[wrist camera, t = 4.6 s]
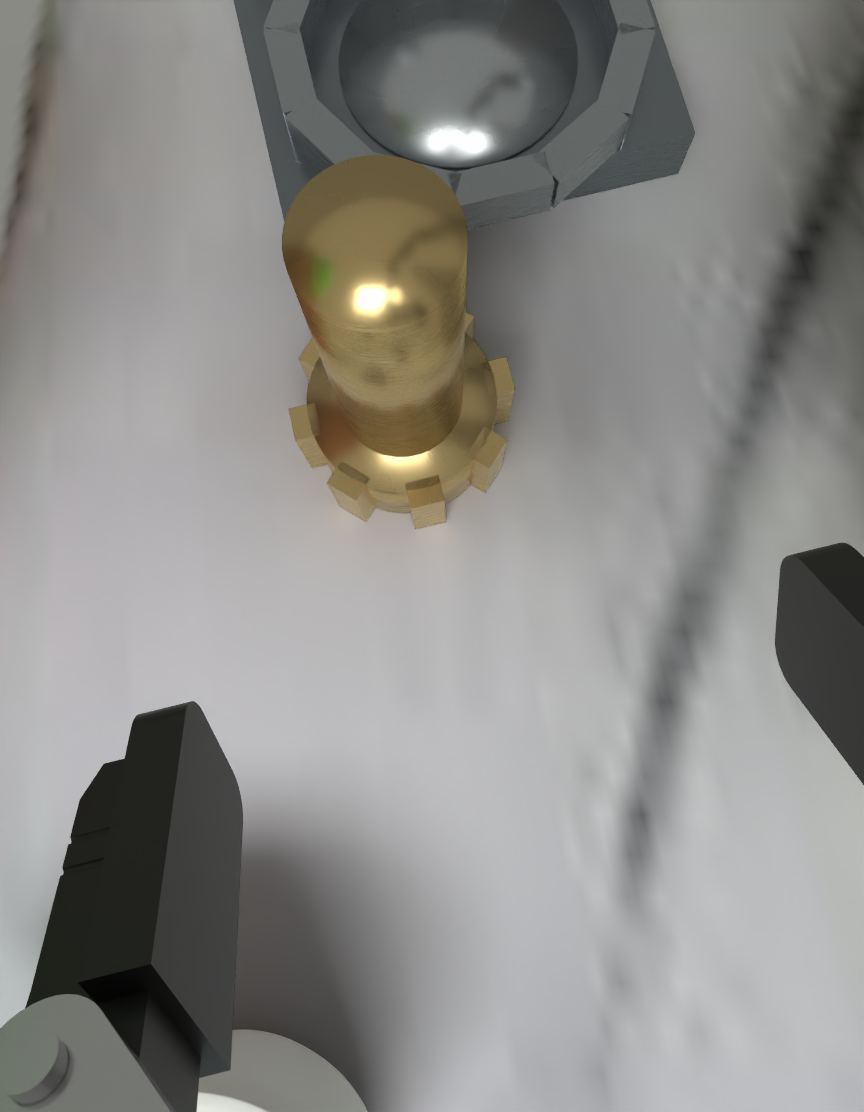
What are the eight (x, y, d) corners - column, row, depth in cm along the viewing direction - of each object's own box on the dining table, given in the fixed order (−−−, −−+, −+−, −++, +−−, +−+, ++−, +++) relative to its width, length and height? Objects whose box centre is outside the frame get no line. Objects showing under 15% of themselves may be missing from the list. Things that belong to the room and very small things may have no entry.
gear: (480, 315, 24) (498, 54, 15) (530, 501, 23) (586, 355, 14) (287, 360, 24) (176, 129, 14) (330, 549, 23) (240, 437, 13)
